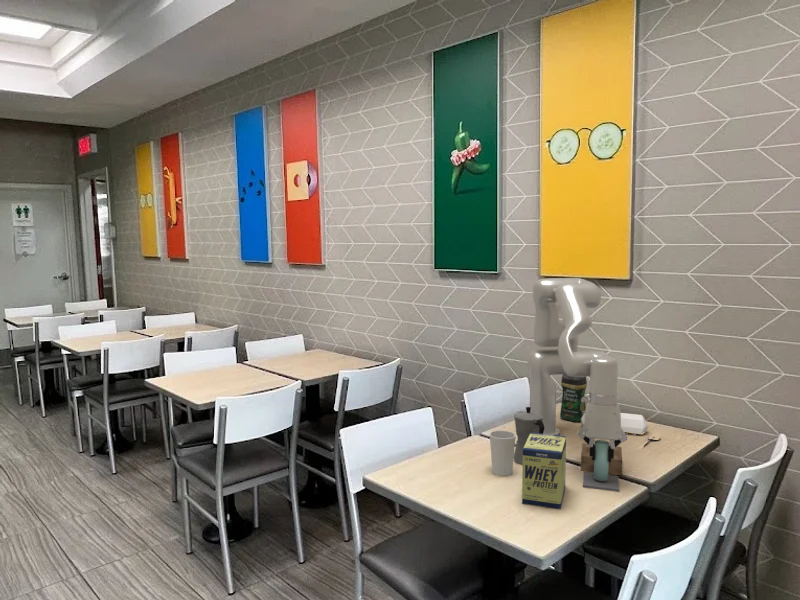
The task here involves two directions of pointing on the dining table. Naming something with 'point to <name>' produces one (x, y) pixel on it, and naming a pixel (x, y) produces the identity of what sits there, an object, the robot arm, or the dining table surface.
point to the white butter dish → (630, 423)
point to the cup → (502, 452)
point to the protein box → (544, 470)
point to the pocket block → (614, 465)
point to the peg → (601, 460)
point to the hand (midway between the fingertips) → (601, 459)
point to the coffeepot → (526, 430)
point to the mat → (601, 482)
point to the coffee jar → (573, 397)
